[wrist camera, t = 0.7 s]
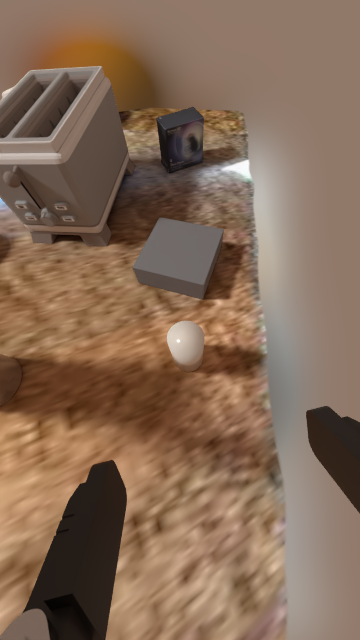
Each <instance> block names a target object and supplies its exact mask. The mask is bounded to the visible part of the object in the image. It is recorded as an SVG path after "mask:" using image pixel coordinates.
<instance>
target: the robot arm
mask: <svg viewBox="0 0 360 640" xmlns="http://www.w3.org/2000/svg"><path fill="white" fill-rule="evenodd" d="M21 378H22V369H21V366H20V364H19V363H18V361H16V360H15V359H13V358H10V357H8V356H5V355H2V354H0V406H2V405H3V404H5V403H6V402H7V401H8V400H9V399H10V398H11V397H12V396H13V395H14V394H15V392H16V391H17V389H18V387H19V385H20V382H21ZM306 418H307V427H308V438H309V443H310V446H311V448H312V450H313V452H314V454H315V456H316V457H317V459H318V460H319V461H320V462H321V464H322V465H323V466H324V468H325V469H326V470H327V471H328V473H329V474H330V475H331V477H332V478H333V479H334V480H335V482H336V483H337V485H338V486H339V487H340V488H341V490H342V491H343V492H344V494H345V495H346V496H347V498H348V499H349V500H350V501H351V503H352V504H353V505H354V507H355V508H356V509H357V511H358V512H359V513H360V422H358V421H356V420H354V419H352V418H350V417H343V418H341V417H340V416H339V415H338V414H337V413H335V412H334V411H333V410H332V409H331V408H330V407H328V406H324V407H320V408H316V409H312V410H308V411H307V412H306ZM126 504H127V494H126V488H125V485H124V483H123V480H122V478H121V476H120V473H119V471H118V469H117V466H116V464H115V462H114V461H113V460H110V461H106V462H102V463H98V464H94V465H93V466H92V467H91V469H90V472H89V475H88V478H87V480H86V483H82V484H80V485H79V486H78V488H77V489H76V490H75V492H74V493H73V495H72V496H71V498H70V499H69V501H68V504H67V506H66V509H65V511H64V514H63V516H62V520H61V521H60V524H59V526H58V529H57V531H56V536H54V539H53V541H52V544H51V546H50V549H49V551H48V554H47V556H46V558H45V561H44V563H43V566H42V568H41V571H40V573H39V576H38V578H37V581H36V583H35V586H34V588H33V591H32V593H31V596H30V598H29V601H28V603H27V605H26V608H25V609H24V611H23V613H22V614H21V615H20V616H19V617H17V618H16V619H15V620H14V621H13V622H12V623H11V624H10V625H9V626H8V627H7V628H6V630H5V631H4V632H3V633H2V635H1V636H0V640H105V638H106V632H107V625H108V619H109V613H110V606H111V600H112V594H113V587H114V581H115V575H116V568H117V562H118V556H119V549H120V543H121V537H122V530H123V524H124V518H125V511H126Z"/></svg>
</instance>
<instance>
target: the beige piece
mask: <svg viewBox="0 0 360 640" xmlns="http://www.w3.org/2000/svg"><path fill="white" fill-rule="evenodd" d="M167 342H168V346H169V348H170V351H171V353H172V356H173V359H174V361H175V364H176V366H177V367H178V368H179V369H180V370H182V371H185V372H192V371H195V370H197V369H198V368H199V367H200V366H201V364H202V361H203V349H204V333H203V331H202V329H201V327H200V326H199V325H197V324H196V323H194V322H191V321H181V322H178V323H176V324H175V325H173V326H172V327H171V328H170V330H169V332H168V335H167Z"/></svg>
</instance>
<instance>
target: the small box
mask: <svg viewBox="0 0 360 640" xmlns="http://www.w3.org/2000/svg"><path fill="white" fill-rule="evenodd" d="M156 120H157V126H158V134H159V143H160V151H161V162H162V163H163V165H164V166H165V168H166V169H167V171H168V172H169V173H172V172H175V171H178V170H181V169H184V168H187V167H190V166H193V165H196V164H199V163H202V157H203V122H204V117H203V116H202V115H201V114H200V113H199V112H198V111H197V110H196V109H195V108H194V107H191V108H188V109H185V110H181V111H178V112H175V113H171V114H168V115H165V116H161V117H158V118H156Z"/></svg>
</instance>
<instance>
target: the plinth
mask: <svg viewBox="0 0 360 640" xmlns="http://www.w3.org/2000/svg"><path fill="white" fill-rule="evenodd" d="M223 232H224V229H220V228H214V227H209V226H204V225H198V224H193V223H188V222H183V221H177V220H172V219H167V218H162V217H160V218H159V219H158V221H157V223H156V225H155V227H154V229H153V231H152V232H151V234H150V236H149V238H148V240H147V242H146V244H145V245H144V247H143V249H142V251H141V253H140V255H139V257H138V258H137V260H136V262H135V264H134V266H133V270H134V272H135V274H136V277H137V279H138V282H139V283H142V284H145V285H149V286H153V287H157V288H161V289H164V290H168V291H172V292H176V293H180V294H184V295H187V296H191V297H195V298H199V299H203V298H204V295H205V292H206V290H207V287H208V284H209V281H210V278H211V275H212V272H213V270H214V267H215V264H216V261H217V258H218V255H219V253H220V250H221V246H222V239H223Z"/></svg>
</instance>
